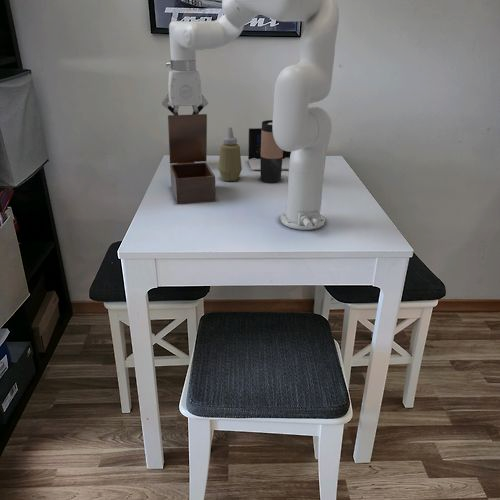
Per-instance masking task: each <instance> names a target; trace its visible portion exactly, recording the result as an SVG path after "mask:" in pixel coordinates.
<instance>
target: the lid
mask: <svg viewBox="0 0 500 500" xmlns="http://www.w3.org/2000/svg"><path fill="white" fill-rule="evenodd" d="M192 114H193V113H192ZM192 114H178V115H174V114H169V115H167V128H168V152H169V154H168V155H169V164H177V163H187V162H194V163H203V162H207V152H208V151H207V149H208V147H207V145H208V114H207V113H199V114H193V115H192Z"/></svg>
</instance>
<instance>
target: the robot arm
mask: <svg viewBox="0 0 500 500" xmlns="http://www.w3.org/2000/svg"><path fill="white" fill-rule="evenodd" d="M221 8H222V12H223V15H221V16H220V17H219V18H217V19H215V20H192V21H190V20H189V21H188V20H173V21H171V22H170V23H169V25H168V32H169V51H170V53H169V54H170V60H169V61H168V62H167V61H165V67H166V68H170V70H169V71H168V78H167V79H168V80H167V94H166V95H165V98H164V99H163V100H162V102H161V105H162V106H163V107H164V108H166V109H167V110H168V111H170V112H171V113H172V115H179V108H180V107H192V114H191V115H193V114H200V112H202V110H203V109H204V108H205V107H207V106H208V105H209V101H208V100H207V98H206V97H205V96H204V95H203V92H202V91H203V90H202V80H201V74H200V71H199V70H197V51H205V50H218V49H221V48H223V47H225V46H227V45H228V44H230V43H231V42H233V41H234V40H236V39H237V38H238V37H239V36H240V35H241V34H242V32H243V30H244V27H245V25H247V24H248V23H249V22H251V21H252V20H253V19H255V18H256V17H258V16H259V15H261V16H263V17H266V18H269V19H271V20H274V21H277V22H283V23H286V22H288V23H289V22H291V23H292V22H304V23H305V28H304V30H303V31H302V35H301V37H300V41H299V51H298V52H299V53H298V61H297V63H293V64H290V65H288V66H286V67H284V68H283V69H282V70H281V71H280V72H279V74H278V76H277V78H276V81H275V84H274V91H273V106H272V107H273V108H272V120H273V124H272V130H273V137H274V140H275V142H276V144H277V145H278V147H279V148H281V149H282V150H284V151H289V152H291V155H290V161H289V170H288V179H287V181H288V182H287V194H286V195H287V196H286V211H284V212H283V213H282V214H281V215H280V223H281V224H283V225H284V226H285V227H287V228H290V229H293V230H301V231H311V230H316V229H320V228H322V227H323V226H324V225H325V223H326V218H325V216H324V215H323V214H321V209H322V198H323V197H322V196H323V195H322V194H323V185H324V177H325V168H326V158H327V152H328V147H329V144H330V139H331V135H332V129H333V128H332V127H333V125H332V119H331V117H330V115H329V112H327V111H326V109H323V108H321V107H319V106H309V105H310V104H313V103H317V102H320V101H323V100H324V99H326V98H327V97H328V96H329V94H330V92H331V88H332V83H333V82H332V81H333V71H334V64H335V55H336V54H335V52H336V43H337V34H338V29H339V21H340V9H339V4H338V2H337V0H222V1H221ZM169 103H170V104H169Z"/></svg>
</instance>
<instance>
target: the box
mask: <svg viewBox="0 0 500 500" xmlns="http://www.w3.org/2000/svg"><path fill="white" fill-rule="evenodd" d="M169 169H170V185H171V186H170V187H171V190H172V194H173V197H174V199H175V202H176V204H177V205H180V204H181V205H182V204H183V205H184V204H193V203H206V202H216V201H217V200H216V199H217V198H216V175H215V174H214V171H212V168H211V167H210V166H209V164H208V163H207V161H205V162H194V163H186V164H177V163H169Z"/></svg>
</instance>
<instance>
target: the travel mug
mask: <svg viewBox="0 0 500 500" xmlns="http://www.w3.org/2000/svg"><path fill="white" fill-rule="evenodd" d="M272 124H273V119H265V120H263V121H262V122H261V128H262V132H261V170H260V181H261V182H263V183H267V184H275V183H280V182H281V181H282V180H281V179H282V171H283V170H282V159H283V150H282V149H281V148H279V147H278V145H277V144H276V142H275V140H274V137H273V130H272Z"/></svg>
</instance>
